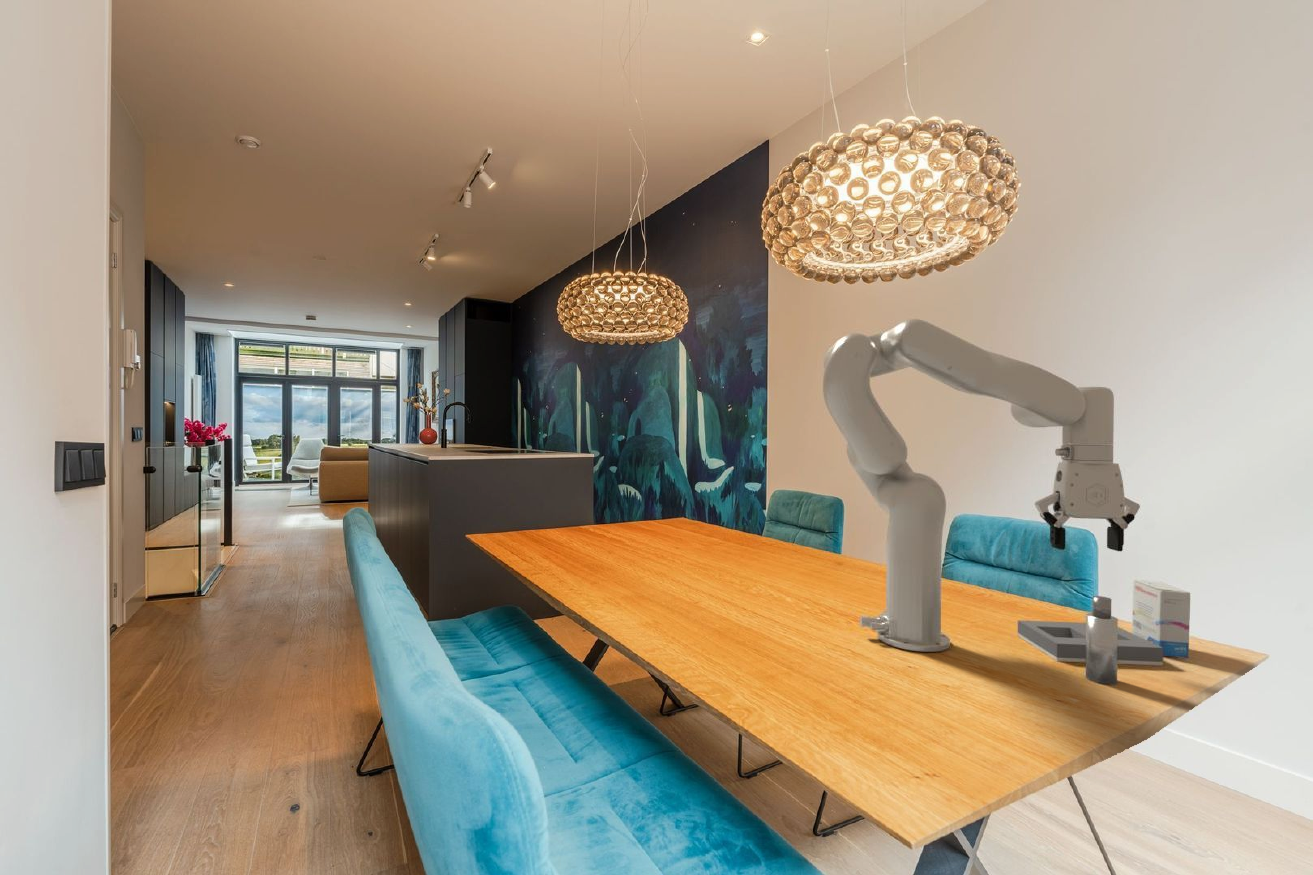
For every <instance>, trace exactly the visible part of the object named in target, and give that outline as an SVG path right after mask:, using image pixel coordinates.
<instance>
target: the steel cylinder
mask: <svg viewBox="0 0 1313 875" xmlns="http://www.w3.org/2000/svg"><path fill="white" fill-rule="evenodd" d="M1091 606H1092V609H1091V610H1092V612H1090V613H1086V615H1085V617H1086V618H1085V623H1086V662H1085V678H1086V679H1087V680H1089V681H1090V682H1093V683H1096V684H1101V685H1107V686H1115V685H1117V684H1118V664H1117V637H1118V627H1119V626H1118V624H1119V619H1118V618H1117V617H1115V616H1113V615H1112V598H1111V597H1110V598H1109V597H1107V596H1103V595H1102V596H1101V595H1100V596H1099V595H1093V596H1092V605H1091Z"/></svg>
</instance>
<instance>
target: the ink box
mask: <svg viewBox="0 0 1313 875" xmlns="http://www.w3.org/2000/svg"><path fill="white" fill-rule="evenodd" d="M1132 588H1133V589H1132V590H1133V591H1132V592H1133V593H1132V594H1133V595H1132V619H1131V620H1132V621H1131V623H1132V624H1131V633H1132V634H1134V635H1136V636H1139V637H1141V638H1143V639H1145V640H1147V641H1149V642H1152V643H1154V644H1156V645H1158V646H1160V647H1162V648H1163V657H1173V658H1187V659H1188V658H1189V655H1190V654H1189V652H1190V651H1189V650H1190V649H1189V647H1190V619H1191V618H1190V614H1191V592H1190V591H1187V590H1184V589H1181V588H1178V587H1176V586H1173V585H1170V584H1167V583H1164V582H1163V581H1153V580H1142V579H1134V580H1133V587H1132Z"/></svg>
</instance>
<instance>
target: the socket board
mask: <svg viewBox="0 0 1313 875" xmlns="http://www.w3.org/2000/svg"><path fill="white" fill-rule="evenodd" d="M1017 637H1019V638H1020V639H1022V640H1023V641H1025V642H1027V644H1030V645H1031V646H1033V647H1034V648H1036V649H1038V650H1039V651H1040V652H1042V653H1044V654H1045V655H1046V656H1048V657H1050V658H1052V659H1053V660H1055V661H1056V662H1071V663H1075V662H1076V663H1086V622H1077V621H1076V622H1070V621H1048V620H1047V621H1046V620H1043V621H1042V620H1017ZM1119 664H1120V665H1142V666H1143V665H1144V666H1164V656H1163V648H1162V647H1160V646H1158V645H1156V644H1154V643H1152V642H1149V641H1147V640H1145V639H1143V638H1141V637H1139V636H1136V635H1134V634H1132V632H1130V631H1128V630H1125V629H1123V628H1122V627H1119V626H1118V637H1117V665H1119Z"/></svg>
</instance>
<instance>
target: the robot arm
mask: <svg viewBox="0 0 1313 875" xmlns="http://www.w3.org/2000/svg"><path fill="white" fill-rule="evenodd" d="M823 368H824V371H823V377H822V378H823V379H822V393H823V398H824V403H825V406H826V409H827V410H828V412H829V414H830V416H831V418H832V419H833V421H834V422H835V424H836V426H837V427H838V429H839V431H840V432H841V434H842V435H843V437H844V438H845V440H846V442H847V444H846V454H847V459H848V460H849V462H850V464H851V466H852V468H853V469H854V471H855V472H856V474H857V475H858V477H859V478H860V480H861V481H862V483H863V484H864V485H865V486H864V487H866V489H867V490H868V492H869V493H870V494H871V496H872V498H874V500H875V502H876V503H877V504H878V506H879V507H880V508H881V509H882V510H883V512H885V513H887V514H888V515H889V519H888V526H887V534H886V545H885V546H886V555H885V556H886V574H885V575H886V576H885V577H886V578H885V579H886V580H885V581H886V583H885V592H886V593H885V610H883V611H882V610H881V611H880V612H881V613H880V615H876V616H875V617H874V616H873V617H871V616H865V615H864V616H863V615H862V616H861V615H860V617H859V625H860V627H861V628H864V627H865V628H869V629H870V630H871V631H873V630H874V631H876V635H877V638H878V639H879V640H880V641H881V642H882V643H884V644H887V645H889V646H892V647H895V648H898V649H901V650H902V649H903V650H905V651H906V650H907V651H911V652H912V651H914V652H922V653H925V652H926V653H927V652H928V653H933V652H935V653H936V652H941V651H945V650H947V649H949V648H950V647H951V638H950V637H949V636H948V635H946V634H945V633H943V632H942V552H943V551H942V547H943V546H942V543H943V530H944V526H945V525H944V524H945V519H946V518H945V517H946V513H947V512H946V511H947V501H946V495H945V492H944V490H943V488H942V487H941V485H940V484H939V483H938V481H937V480H935V479H934V478H932V477H930V476H929V475H927V474H923V473H920V472H916V471H914V470H913V469H912V467H911V466H910V464H909V463H908V462H907V459H908V446H907V443H906V441H905V439H904V438H903V437H902V435H901V434H900V433H899V431H898V430H897V429H896V427H895V426H894V424H893V423H892V422H891V420H890V419H889V418H888V416H887V415H886V413H885V412H884V410H883V409H882V408H881V405H880V404H879V402H878V401H877V399H876V398H875V395H874V394H873V391H872V387H871V380H870V379H871V378H875V377H879V376H883V375H887V374H891V373H894V372H897V371H900V370H903V369H906V368H913V369H915V370H916V371H919V372H920V373H922V374H925V375H927V376H929V377H931V378H932V379H934V380H937V381H938V382H940V383H943V384H945V385H946V386H948V387H950V388H952V389H954V390H956V391H958V392H962V393H966V394H968V395H975V396H984V397H988V398H989V397H990V398H995V399H998V400H1000V401H1004V402H1008V403H1009V404H1010V413H1011V416H1012V417H1013V418H1014V420H1015V421H1016V422H1018V423H1019V424H1021V425H1023V426H1026V427H1029V428H1049V427H1050V428H1052V427H1062V428H1061V429H1062V432H1061V433H1062V435H1061V438H1062V440H1061V441H1062V445H1061V446H1060V447H1059V448H1056V449H1055V451H1054V452H1055V453H1054V454H1055V455H1056V456H1058V457H1061V459H1060V460H1061V461H1060V462H1058V463H1057V464H1058V465H1057V466H1056V472H1055V476H1054V481H1053V489H1052V490H1053V491H1052V494H1050V495H1047V496H1045V497H1043V498H1041V499H1039V500H1037V501H1035V502H1034V506H1035V508H1036V509H1037V512H1038V513H1039V516H1040V517H1041V518H1042V520H1044V522H1046V524H1047V525H1048V526H1049V543H1050V545H1051V547H1052V548H1053V549H1058V550H1059V551H1064V550H1065V549H1066V528H1065V527H1063V525H1064V524H1065V523H1066V522H1067V521H1068V520H1069V519H1070V518H1072V519H1093V520H1095V519H1096V520H1098V519H1099V520H1101V519H1102V520H1106V521H1107V522H1108V523H1109V525H1110V526H1107V528H1106V548H1107V549H1109V550H1112V551H1116V552H1122V551H1123V550H1124V548H1123V547H1124V544H1125V539H1124V538H1125V530H1126V529H1128V527H1129V524H1131V523H1132V522H1133V521H1134V520H1135V518H1136V517H1135V516H1136V515H1137V514H1138V511H1139V509H1140V508H1141V505H1140V504H1139V503H1137V502H1135V501H1133V500H1131V499H1130V498H1127V497H1126V496H1125V492H1124V491H1125V489H1124V480H1123V475H1122V473H1121V472H1122V471H1121V469H1120V465H1119V463H1114V433H1115V432H1114V430H1115V429H1114V428H1115V427H1114V423H1115V422H1114V421H1115V420H1114V419H1115V418H1114V415H1115V411H1114V410H1115V409H1114V408H1115V399H1114V398H1115V397H1114V392H1113V391H1112V389H1110V388H1108V387H1106V386H1105V387H1103V386H1082V387H1081V386H1080V387H1077V386H1076V385H1075V384H1073V383H1071V382H1070V381H1067V380H1066V379H1063V378H1062V377H1061V376H1058V375H1056V374H1054V373H1051V372H1049V371H1047V370H1046V369H1043V368H1042V367H1039V366H1036V365H1033V364H1031V363H1028V362H1024V361H1021V360H1018V359H1014V358H1010V357H1009V356H1004V355H1002V354H999V353H995V352H991V351H988V350H985V349H983V348H981V347H978V346H977V345H975V344H972V343H971V342H969V341H967V340H964V339H963V338H961V337H958V336H956V335H955V334H953V333H950V332H949V331H947V330H944V329H942V328H941V327H939V326H936V325H934V324H933V323H931V322H928V321H926V320H923V319H920V318H911V319H907V320H905V321H901V322H900V323H898V324H897V325H895V326H894V327H893V328H891V329H889V330H884V331H882V332H879V333H875V334H872V335H868V336H867V335H864V334H863V333H849V334H846V335H844V336H842V337H841V338H839V339H838V340H837V341H836V342H834V344H833V345H832V346H830V348H829V349H828V351H827V352H826V353H825V355H824V359H823ZM1051 505H1052V510H1053V514H1052V512H1050V510H1049V506H1051Z"/></svg>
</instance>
